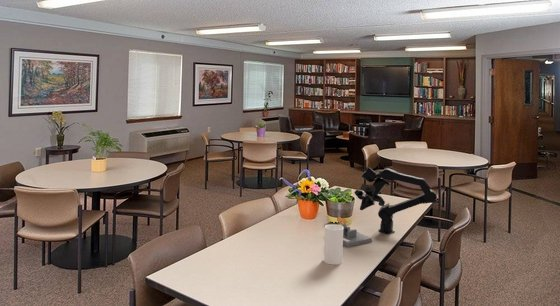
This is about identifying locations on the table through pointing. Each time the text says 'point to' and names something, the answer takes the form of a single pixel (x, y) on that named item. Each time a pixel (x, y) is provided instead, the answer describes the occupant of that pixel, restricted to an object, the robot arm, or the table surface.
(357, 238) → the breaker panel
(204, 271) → the table surface
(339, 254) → the cup
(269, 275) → the table surface
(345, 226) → the lever
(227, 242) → the table surface
